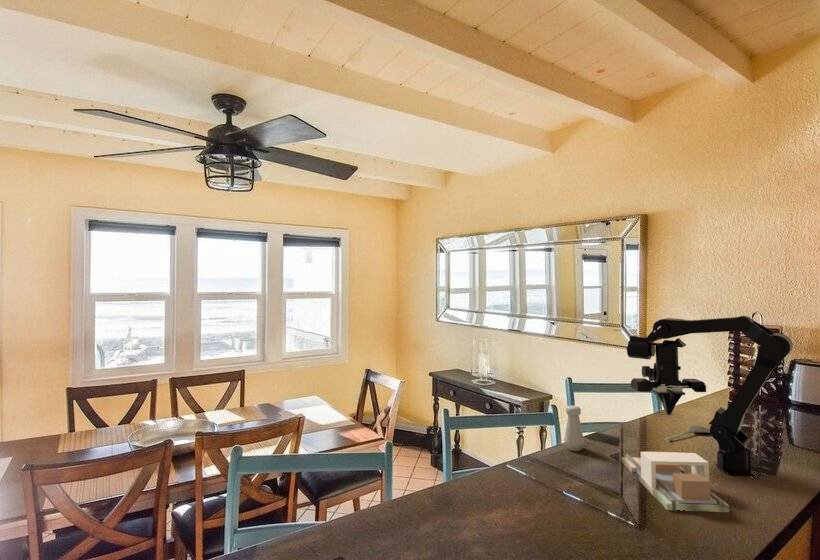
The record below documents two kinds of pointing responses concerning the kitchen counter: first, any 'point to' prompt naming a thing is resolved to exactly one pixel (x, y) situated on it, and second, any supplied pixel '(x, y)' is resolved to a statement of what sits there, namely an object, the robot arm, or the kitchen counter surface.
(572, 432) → the salt shaker
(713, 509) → the track deck
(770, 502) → the kitchen counter surface
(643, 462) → the tunnel
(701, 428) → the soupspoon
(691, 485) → the sled
